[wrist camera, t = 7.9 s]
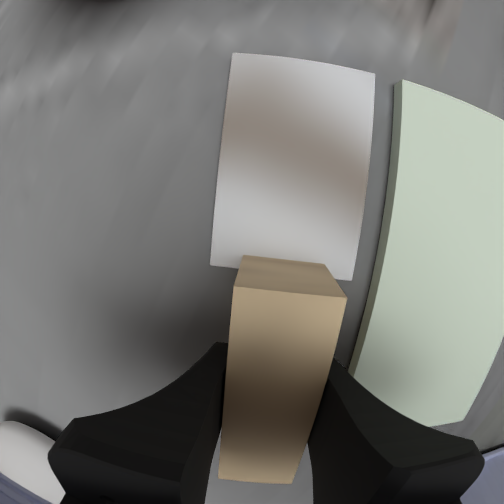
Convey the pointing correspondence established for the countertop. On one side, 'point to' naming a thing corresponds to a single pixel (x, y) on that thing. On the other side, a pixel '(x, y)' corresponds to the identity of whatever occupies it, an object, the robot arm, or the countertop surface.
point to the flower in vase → (28, 460)
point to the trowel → (286, 247)
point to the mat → (436, 260)
